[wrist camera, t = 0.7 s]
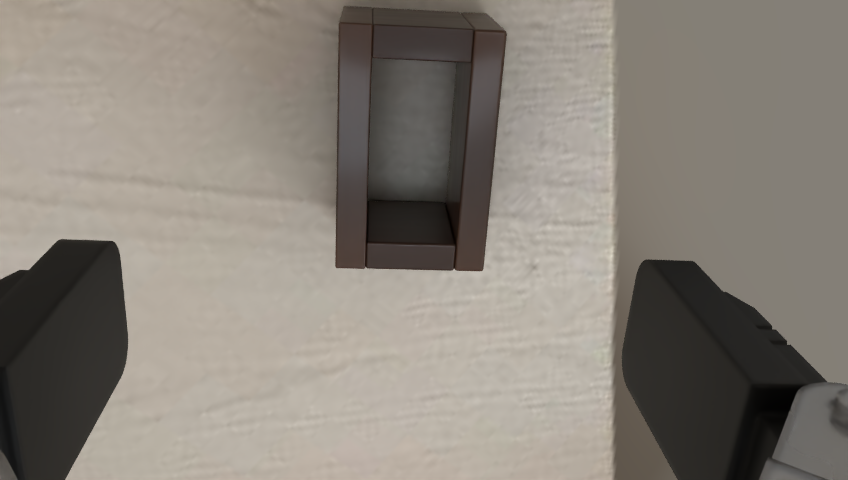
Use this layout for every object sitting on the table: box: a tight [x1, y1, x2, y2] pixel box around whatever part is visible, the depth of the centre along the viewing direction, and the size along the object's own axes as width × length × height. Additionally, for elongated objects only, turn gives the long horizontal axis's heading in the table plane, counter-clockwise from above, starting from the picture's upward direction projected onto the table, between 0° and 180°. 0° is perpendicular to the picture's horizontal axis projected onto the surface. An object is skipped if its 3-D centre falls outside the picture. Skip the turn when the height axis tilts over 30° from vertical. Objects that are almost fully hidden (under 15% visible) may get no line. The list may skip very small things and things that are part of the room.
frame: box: [335, 6, 507, 271], centre depth 26 cm, size 8×5×4 cm, turn 177°
